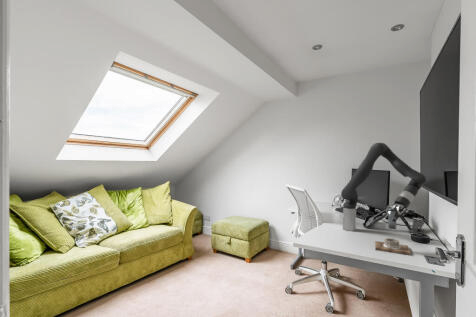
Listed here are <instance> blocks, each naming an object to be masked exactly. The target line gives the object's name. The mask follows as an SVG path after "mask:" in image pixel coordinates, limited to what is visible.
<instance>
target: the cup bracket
mask: <svg viewBox="0 0 476 317" xmlns="http://www.w3.org/2000/svg"><path fill="white" fill-rule="evenodd" d="M374 244H375V246H374V248H375V249H374V250H375V251H381V252H387V253H393V254H400V255H404V256H412V253H411V249H410V248H409V245H406V244H405V245H404V244H400V240H399V239H395V238H390V237H388V238H387V237H386V238H384V242H383V241H376V240H375V242H374Z"/></svg>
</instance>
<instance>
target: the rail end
mask: <svg viewBox="0 0 476 317" xmlns="http://www.w3.org/2000/svg"><path fill="white" fill-rule="evenodd" d="M386 209H387V210H388V220H387V229H390V230H397V220H396V221H395V222H393V221H392V218H393V217H394V216H395V215H396V209H394V208H387V207H386Z"/></svg>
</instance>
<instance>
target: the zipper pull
mask: <svg viewBox="0 0 476 317" xmlns="http://www.w3.org/2000/svg"><path fill="white" fill-rule="evenodd" d="M425 222H426V221H425V220H418V219H413V220H412V226H411V228H410V229H411V230H410V229H408V234H409V233H410V234H409V235H412V234H411V233H417V234H423V235H424V230H423V226H424V224H425Z"/></svg>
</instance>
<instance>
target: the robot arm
mask: <svg viewBox="0 0 476 317" xmlns="http://www.w3.org/2000/svg"><path fill="white" fill-rule="evenodd" d="M380 157H383V158H385V159H386V160H387V161H388V162H389V163H390V164H391V166H392V167H393V168H394V169H395V171H397V172H398V173H399V174H400V175H401V176H402V177H405V178H410V181H409V182H408V184H407V185H406V186H405V187H404V189H403V190H402V191H401V192H400V193H399V195H398V196H397V198H396V199H395V200H394V203H393V204H392V205H390V204H388V205H387V206H386V209H385V213H386V215H385V216H384V219H385V220H386V221H388V210H387V208H394V209H396V215H395V216H394V217H393V218H392V221H393V222H395V221H396V222H397V220H398V219H399V218H404V216H406V215H407V214H409V212H410V210H409V209H408V208H409V206H410V205H411V204H412V202H413V200H414V198H415V197H416V195H417V194H418V192H419V191H420V189H421V188H422V187H423V185H425V183H426V182H427V177H426V176H425V175H424V174H423V173H421V172H419V171H417V170H415V169H413V168H412V167H411V166H409V165H408V163H406V162H404V160H402V159H401V158H400V157H398V155H397V154H395V153H394V151H393V150H392V149H391V148H390V147H389V146H388V145H387V144H386V143H384V142H376V143H373V144H372V145H371V146H370V148H369V150H368V152H367V154H366V156H365V158H364V159H363V160H362V162H361V163H360V164H359V165H358V166H359V167H358V168H357V169H356V171H355V172H354V174H353V175H352V176H351V178H350V180H349V182H348V183H347V184H346V185H345V186H344V187H343V189H342V190H341V194H340V195H341V198H342V199H343V200H345V202H344V203H343V205H342V207H343V209H342V210H343V211H342V214H343V215H342V230H345V231H347V232H348V231H349V232H354V231H356V230H357V205H358V192H357V188H358V187H359V186H360V185H362V184H363V183H364V182H365V181H367V179H368V178H369V176H370V175H371V174H372V171H373V170H374V164H375V163H376V161H377V160H378V159H379V158H380Z"/></svg>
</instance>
